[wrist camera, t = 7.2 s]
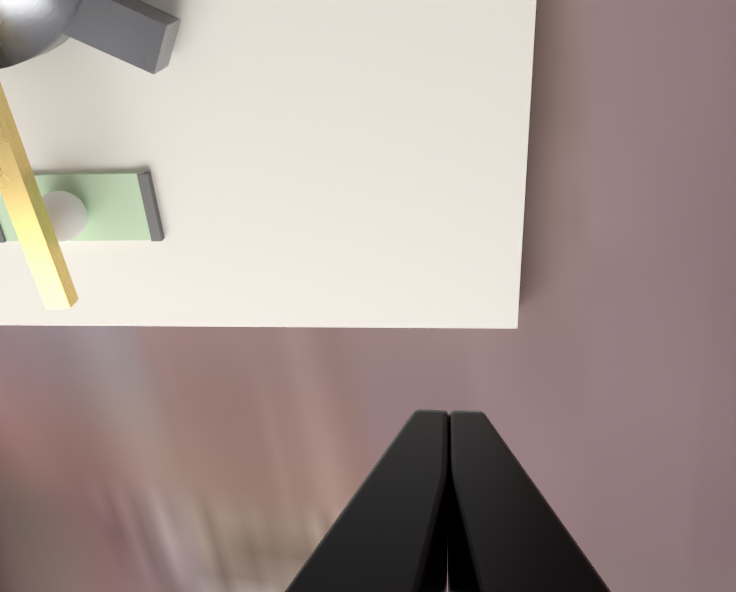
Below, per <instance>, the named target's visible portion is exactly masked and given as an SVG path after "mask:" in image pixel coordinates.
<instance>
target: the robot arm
mask: <svg viewBox="0 0 736 592" xmlns="http://www.w3.org/2000/svg"><path fill="white" fill-rule="evenodd" d="M447 557H448V592H611V591H610V590H609V588H608V587H607V585H606V584H605V583H604V581H603V580H602V578H601V577H600V576H599V574H598V573H597V571H596V570H595V569H594V567H593V566H592V564H591V563H590V562H589V560H588V559H587V557H586V556H585V554H584V553H583V552H582V550H581V549H580V547H579V546H578V545H577V543H576V542H575V540H574V539H573V538H572V536H571V535H570V533H569V532H568V531H567V529H566V528H565V526H564V525H563V524H562V522H561V521H560V519H559V518H558V516H557V515H556V514H555V512H554V511H553V509H552V508H551V507H550V505H549V504H548V502H547V501H546V500H545V498H544V497H543V495H542V494H541V493H540V491H539V490H538V488H537V487H536V486H535V484H534V483H533V481H532V480H531V478H530V477H529V476H528V474H527V473H526V471H525V470H524V469H523V467H522V466H521V464H520V463H519V462H518V460H517V459H516V457H515V456H514V455H513V453H512V452H511V450H510V449H509V448H508V446H507V445H506V443H505V442H504V440H503V439H502V438H501V436H500V435H499V433H498V432H497V431H496V429H495V428H494V426H493V425H492V424H491V422H490V421H489V419H488V418H487V417H486V415H485V414H484V413H483V412H481V411H474V410H453V411H451V412H450V414H449V416H448V413H447V411H445V410H436V409H417V410H415V411H414V412H413V413H412V415H411V416H410V417H409V419H408V420H407V422H406V423H405V424H404V426H403V427H402V429H401V430H400V431H399V433H398V434H397V436H396V437H395V438H394V440H393V441H392V443H391V444H390V445H389V447H388V448H387V450H386V451H385V452H384V454H383V455H382V457H381V458H380V459H379V461H378V462H377V463H376V465H375V466H374V468H373V469H372V470H371V472H370V473H369V475H368V476H367V477H366V479H365V480H364V482H363V483H362V484H361V486H360V487H359V489H358V490H357V491H356V493H355V494H354V496H353V497H352V498H351V500H350V501H349V503H348V504H347V505H346V507H345V508H344V510H343V511H342V512H341V514H340V515H339V517H338V518H337V519H336V521H335V522H334V524H333V525H332V526H331V528H330V529H329V531H328V532H327V533H326V535H325V536H324V538H323V539H322V540H321V542H320V543H319V545H318V546H317V547H316V549H315V550H314V551H313V553H312V554H311V556H310V557H309V558H308V560H307V561H306V563H305V564H304V565H303V567H302V568H301V570H300V571H299V572H298V574H297V575H296V577H295V578H294V579H293V581H292V582H291V584H290V585H289V586H288V588H287V589H286V591H285V592H447Z"/></svg>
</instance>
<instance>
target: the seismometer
mask: <svg viewBox="0 0 736 592" xmlns="http://www.w3.org/2000/svg"><path fill="white" fill-rule="evenodd" d="M180 22H181V19H180V18H177V17H175V16H173V15H171V14H169V13H166V12H164V11H162V10H160V9H158V8H156V7H153V6H151V5H149V4H147V3H145V2H143V1H140V0H0V69H2V68H7V67H10V66H13V65H16V64H19V63H21V62H24V61H27V60H29V59H32V58H35V57H37V56H40V55H43V54H45V53H48V52H50V51H51V50H53V49H55V48H57V47H59V46H60V45H62V44H63V43H64V42H65V41H67V40H68V39H69V38H70V37H71V38H73V39H76V40H78V41H80V42H82V43H84V44H87V45H89V46H91V47H93V48H96V49H98V50H100V51H102V52H105V53H107V54H109V55H111V56H113V57H116V58H118V59H120V60H122V61H125V62H127V63H129V64H131V65H134V66H136V67H138V68H140V69H143V70H145V71H147V72H149V73H151V74H156V73H157V72H159V71H161V70H163V69H164V68H166V67H168V66H169V62H170V58H171V55H172V51H173V47H174V44H175V40H176V36H177V33H178V29H179V25H180ZM0 192H1V195H2V197H3V200H4V203H5V205H6V208H7V210H8V213H9V215H10V218H11V220H12V223H13V226H14V228H15V231H16V233H17V236H18V238H19V241H20V244H21V246H22V249H23V251H24V254H25V256H26V259H27V262H28V264H29V267H30V269H31V272H32V274H33V277H34V279H35V282H36V285H37V287H38V290H39V292H40V295H41V297H42V300H43V303H44V305H45V308H46V310H48V309H66V308H71V307H72V306H73V305H74V304H75V303H76V302H77V300H78V299H79V298H78V296H77V293H76V290H75V287H74V285H73V282H72V279H71V276H70V273H69V271H68V268H67V265H66V262H65V260H64V257H63V254H62V251H61V249H60V246H59V243H58V240H57V238H56V235H55V232H54V229H53V226H52V224H51V221H50V218H49V215H48V213H47V210H46V207H45V204H44V202H43V199H42V196H41V193H40V190H39V188H38V185H37V182H36V179H35V177H34V174H33V171H32V168H31V166H30V163H29V160H28V157H27V154H26V152H25V149H24V146H23V143H22V141H21V138H20V135H19V132H18V130H17V127H16V124H15V121H14V119H13V116H12V113H11V110H10V107H9V105H8V102H7V99H6V96H5V94H4V91H3V88H2V85H1V83H0Z"/></svg>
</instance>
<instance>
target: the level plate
mask: <svg viewBox="0 0 736 592" xmlns="http://www.w3.org/2000/svg"><path fill="white" fill-rule="evenodd" d="M140 1H143V2H145V3H147V4H149V5H151V6H153V7H156V8H158V9H160V10H162V11H164V12H166V13H169V14H171V15H173V16H175V17H177V18H180V19H181V22H180V25H179V29H178V33H177V36H176V40H175V44H174V47H173V51H172V55H171V58H170V62H169V66H168V67H166V68H164V69H163V70H161V71H159V72H157V73H156V74H151V73H149V72H147V71H145V70H143V69H140V68H138V67H136V66H134V65H131V64H129V63H127V62H125V61H122V60H120V59H118V58H116V57H113V56H111V55H109V54H107V53H105V52H102V51H100V50H98V49H96V48H93V47H91V46H89V45H87V44H84V43H82V42H80V41H78V40H76V39H73V38H71V37H70V38H69V39H68V40H67V41H65V42H64V43H63V44H62V45H60V46H59V47H57V48H55V49H53V50H51V51H50V52H48V53H45V54H43V55H40V56H37V57H35V58H32V59H29V60H27V61H24V62H21V63H19V64H16V65H13V66H10V67H7V68H2V69H0V83H1V85H2V88H3V91H4V94H5V96H6V99H7V102H8V105H9V107H10V110H11V113H12V116H13V119H14V121H15V124H16V127H17V130H18V132H19V135H20V138H21V141H22V143H23V146H24V149H25V152H26V154H27V157H28V160H29V163H30V166H31V168H32V171H33V174H34V177H35V179H36V182H37V185H38V188H39V190H40V193H41V196H42V199H43V202H44V204H45V207H46V210H47V213H48V215H49V218H50V221H51V224H52V226H53V229H54V232H55V235H56V238H57V240H58V243H59V246H60V249H61V251H62V254H63V257H64V260H65V262H66V265H67V268H68V271H69V273H70V276H71V279H72V282H73V285H74V287H75V290H76V293H77V296H78V298H79V299H78V300H77V302H76V303H75V304H74V305H73V306H72V307H71V308H66V309H48V310H46V308H45V305H44V303H43V300H42V297H41V295H40V292H39V290H38V287H37V285H36V282H35V279H34V277H33V274H32V272H31V269H30V267H29V264H28V262H27V259H26V256H25V254H24V251H23V249H22V246H21V244H20V241H19V238H18V236H17V233H16V231H15V228H14V226H13V223H12V220H11V218H10V215H9V213H8V210H7V208H6V205H5V203H4V200H3V197H2V195H1V192H0V325H64V326H217V327H370V328H517V324H518V306H519V289H520V272H521V255H522V238H523V221H524V204H525V187H526V170H527V153H528V135H529V118H530V101H531V84H532V67H533V50H534V33H535V16H536V0H140Z"/></svg>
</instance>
